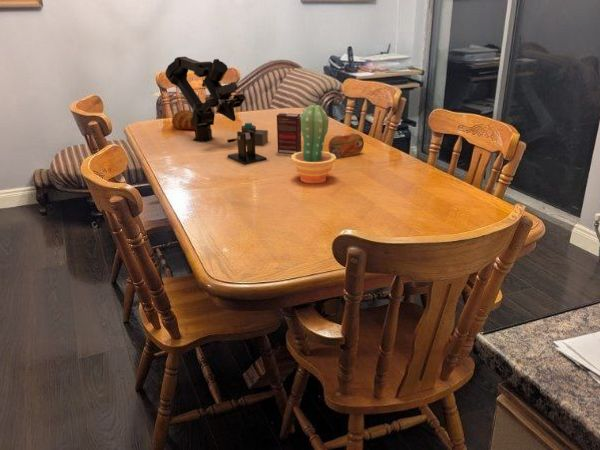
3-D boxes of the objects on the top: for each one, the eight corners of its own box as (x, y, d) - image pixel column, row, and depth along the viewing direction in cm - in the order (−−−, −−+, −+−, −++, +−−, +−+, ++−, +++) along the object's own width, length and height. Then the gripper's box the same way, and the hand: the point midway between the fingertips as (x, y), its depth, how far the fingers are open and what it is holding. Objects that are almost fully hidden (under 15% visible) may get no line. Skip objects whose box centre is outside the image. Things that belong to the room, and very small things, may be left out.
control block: (239, 144, 221) (238, 128, 219) (245, 140, 228) (244, 124, 225) (262, 146, 219) (261, 130, 216) (268, 142, 225) (267, 126, 222)
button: (243, 128, 221) (243, 123, 220) (246, 126, 224) (246, 122, 223) (250, 128, 220) (250, 124, 219) (253, 126, 223) (253, 122, 222)
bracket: (227, 158, 204) (226, 130, 199) (249, 153, 210) (248, 126, 205) (244, 165, 195) (243, 137, 191) (266, 160, 201) (265, 132, 197)
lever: (227, 144, 205) (226, 138, 205) (241, 141, 208) (239, 135, 208) (241, 140, 196) (240, 134, 196) (255, 137, 199) (253, 131, 199)
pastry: (206, 129, 246) (205, 112, 243) (180, 132, 240) (178, 115, 236) (190, 120, 262) (188, 104, 259) (164, 124, 256) (163, 107, 252)
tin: (331, 159, 202) (331, 137, 199) (326, 157, 205) (327, 135, 201) (363, 154, 209) (364, 133, 205) (359, 152, 211) (360, 131, 208)
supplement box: (301, 153, 209) (301, 113, 203) (297, 157, 205) (297, 116, 199) (281, 151, 212) (280, 112, 206) (277, 155, 208) (276, 114, 201)
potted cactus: (337, 173, 187) (339, 102, 177) (333, 187, 173) (335, 111, 163) (295, 170, 189) (294, 100, 179) (287, 185, 175) (286, 110, 165)
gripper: (204, 78, 200) (224, 111, 197) (241, 73, 212) (261, 104, 210) (193, 96, 208) (212, 129, 206) (230, 90, 220) (248, 121, 218)
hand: (234, 120), depth 209 cm, fingers closed
